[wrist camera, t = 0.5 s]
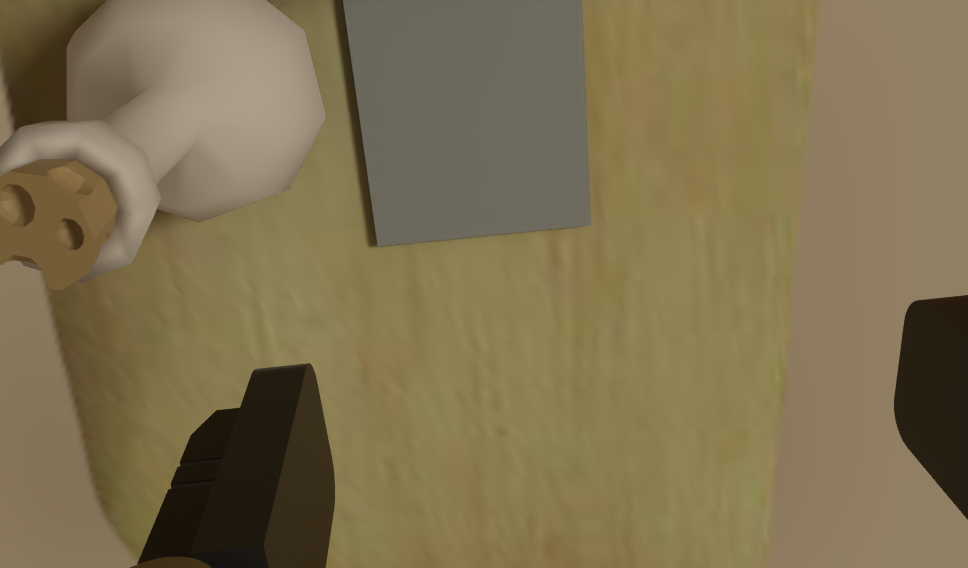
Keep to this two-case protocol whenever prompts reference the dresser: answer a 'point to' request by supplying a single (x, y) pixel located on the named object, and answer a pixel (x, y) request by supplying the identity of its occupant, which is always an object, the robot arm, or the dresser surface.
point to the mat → (471, 115)
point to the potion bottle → (157, 131)
